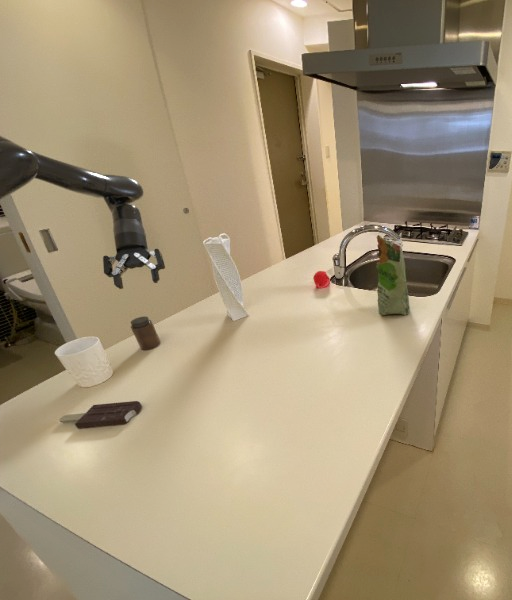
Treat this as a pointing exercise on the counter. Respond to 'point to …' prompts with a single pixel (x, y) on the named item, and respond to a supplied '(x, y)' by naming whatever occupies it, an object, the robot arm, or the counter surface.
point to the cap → (321, 280)
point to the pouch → (391, 279)
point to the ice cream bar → (105, 415)
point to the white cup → (85, 361)
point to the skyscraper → (226, 276)
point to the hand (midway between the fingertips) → (138, 284)
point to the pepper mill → (145, 333)
